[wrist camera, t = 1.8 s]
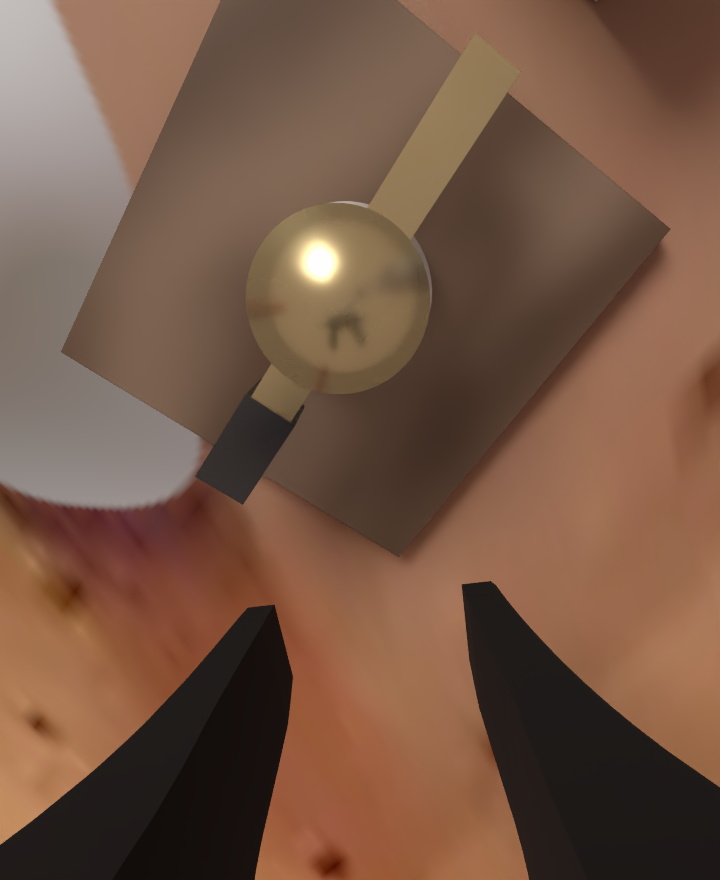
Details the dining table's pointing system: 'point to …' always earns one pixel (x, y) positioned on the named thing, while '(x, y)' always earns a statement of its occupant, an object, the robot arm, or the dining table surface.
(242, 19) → the post base
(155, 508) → the dining table surface
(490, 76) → the lever handle
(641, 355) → the dining table surface
